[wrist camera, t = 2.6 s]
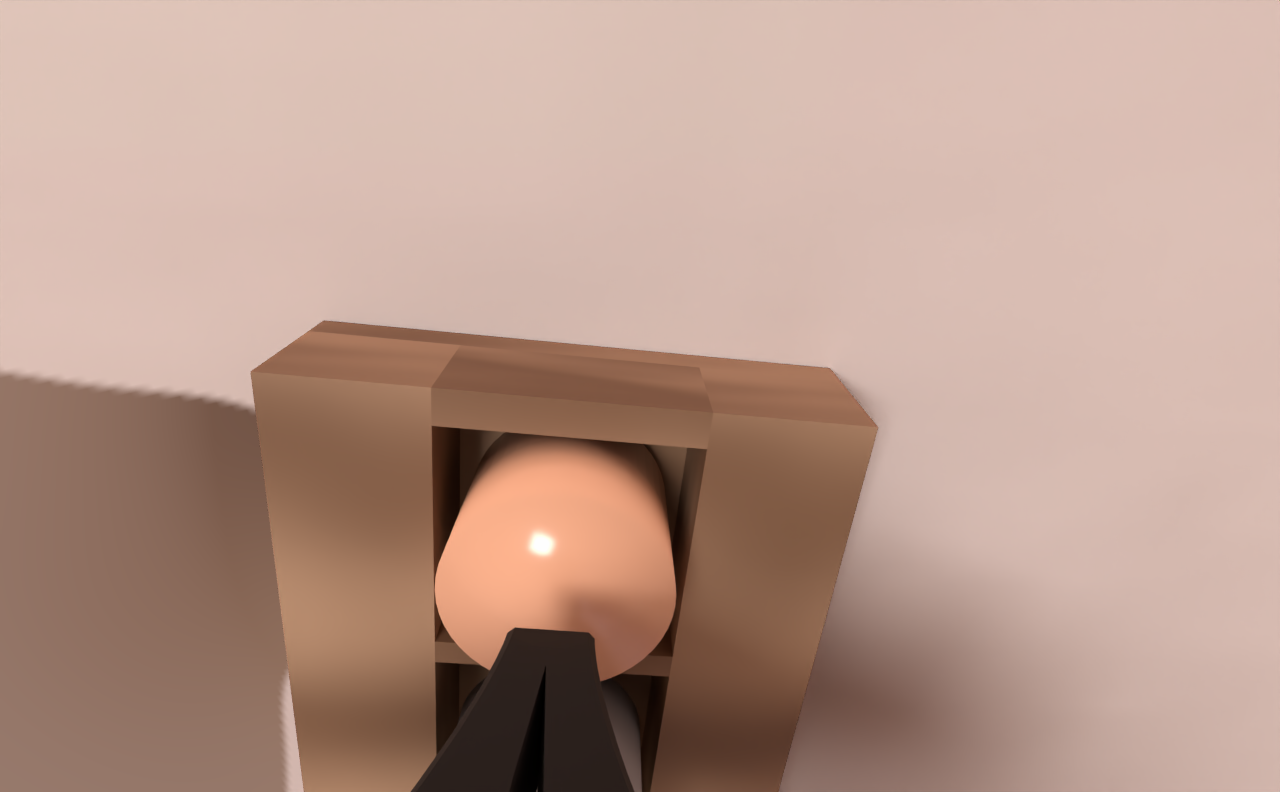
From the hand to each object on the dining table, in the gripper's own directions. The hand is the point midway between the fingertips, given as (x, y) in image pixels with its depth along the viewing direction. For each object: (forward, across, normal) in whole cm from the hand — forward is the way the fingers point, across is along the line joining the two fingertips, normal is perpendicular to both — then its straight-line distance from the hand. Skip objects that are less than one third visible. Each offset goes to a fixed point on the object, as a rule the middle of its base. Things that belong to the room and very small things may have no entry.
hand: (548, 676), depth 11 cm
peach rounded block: (+5, 0, 0) cm, 5 cm away
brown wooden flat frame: (+7, 0, +6) cm, 9 cm away
